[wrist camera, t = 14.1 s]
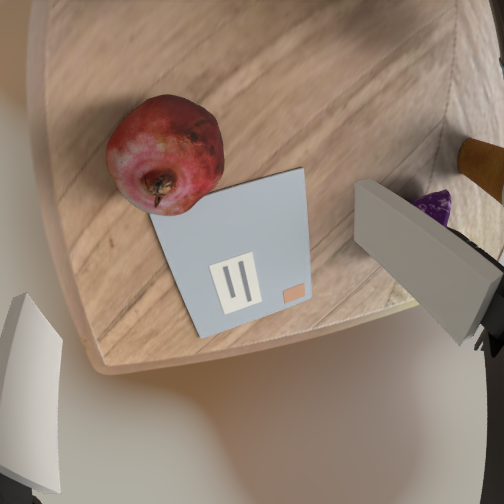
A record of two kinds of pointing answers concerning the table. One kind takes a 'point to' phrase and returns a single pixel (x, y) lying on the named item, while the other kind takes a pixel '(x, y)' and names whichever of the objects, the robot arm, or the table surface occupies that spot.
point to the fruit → (166, 155)
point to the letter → (241, 251)
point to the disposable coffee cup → (483, 166)
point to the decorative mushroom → (435, 206)
